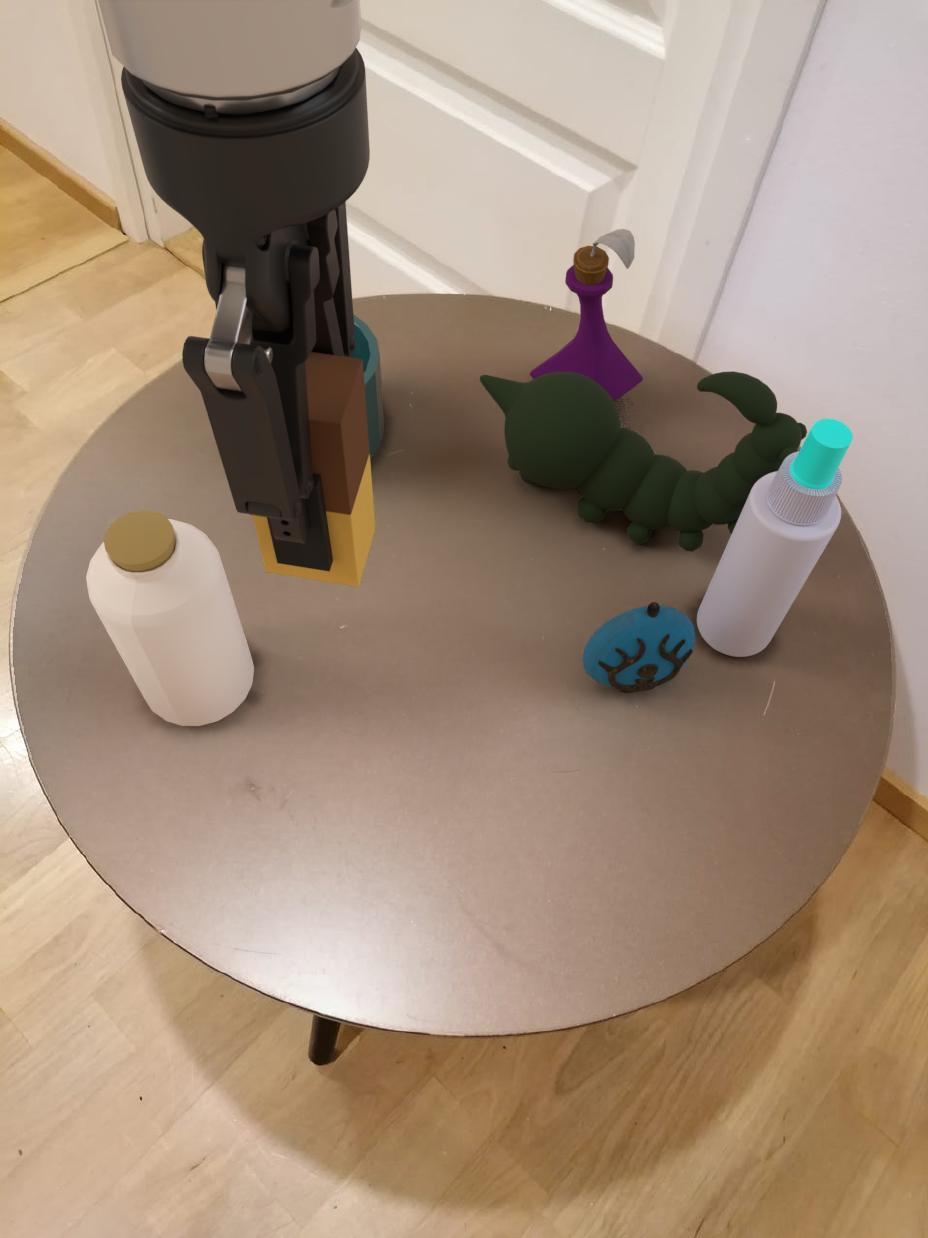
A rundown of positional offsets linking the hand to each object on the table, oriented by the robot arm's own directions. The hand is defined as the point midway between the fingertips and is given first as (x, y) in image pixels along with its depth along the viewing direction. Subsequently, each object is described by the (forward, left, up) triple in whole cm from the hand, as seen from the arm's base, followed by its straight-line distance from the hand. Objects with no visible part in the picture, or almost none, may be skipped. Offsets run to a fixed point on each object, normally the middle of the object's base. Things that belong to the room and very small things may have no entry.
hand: (317, 524), depth 48 cm
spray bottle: (+28, +14, -25) cm, 40 cm away
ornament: (+20, +8, -25) cm, 33 cm away
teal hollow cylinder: (-10, +29, -25) cm, 39 cm away
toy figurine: (+17, +25, -25) cm, 39 cm away
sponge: (0, 0, -2) cm, 2 cm away
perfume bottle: (+14, +37, -25) cm, 47 cm away
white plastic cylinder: (-12, +2, -25) cm, 28 cm away
